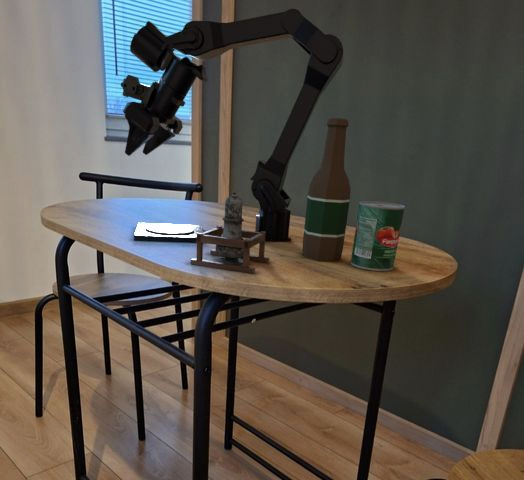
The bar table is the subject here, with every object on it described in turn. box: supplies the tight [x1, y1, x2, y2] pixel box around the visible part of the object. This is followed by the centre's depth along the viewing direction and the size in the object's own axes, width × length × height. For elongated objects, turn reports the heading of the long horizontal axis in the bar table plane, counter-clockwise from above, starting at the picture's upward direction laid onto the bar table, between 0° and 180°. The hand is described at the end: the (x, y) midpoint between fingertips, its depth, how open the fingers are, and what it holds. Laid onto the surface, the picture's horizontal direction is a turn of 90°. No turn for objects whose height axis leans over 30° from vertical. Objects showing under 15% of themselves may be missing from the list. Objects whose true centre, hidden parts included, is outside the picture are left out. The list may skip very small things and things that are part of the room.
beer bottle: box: [301, 117, 351, 262], centre depth 86 cm, size 8×8×24 cm
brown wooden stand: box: [190, 225, 270, 274], centre depth 80 cm, size 9×11×5 cm
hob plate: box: [133, 222, 204, 244], centre depth 100 cm, size 14×14×1 cm
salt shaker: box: [215, 189, 245, 266], centre depth 79 cm, size 6×6×12 cm
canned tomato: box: [349, 200, 406, 272], centre depth 85 cm, size 8×8×11 cm
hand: (136, 154), depth 102 cm, fingers open, 9 cm apart
